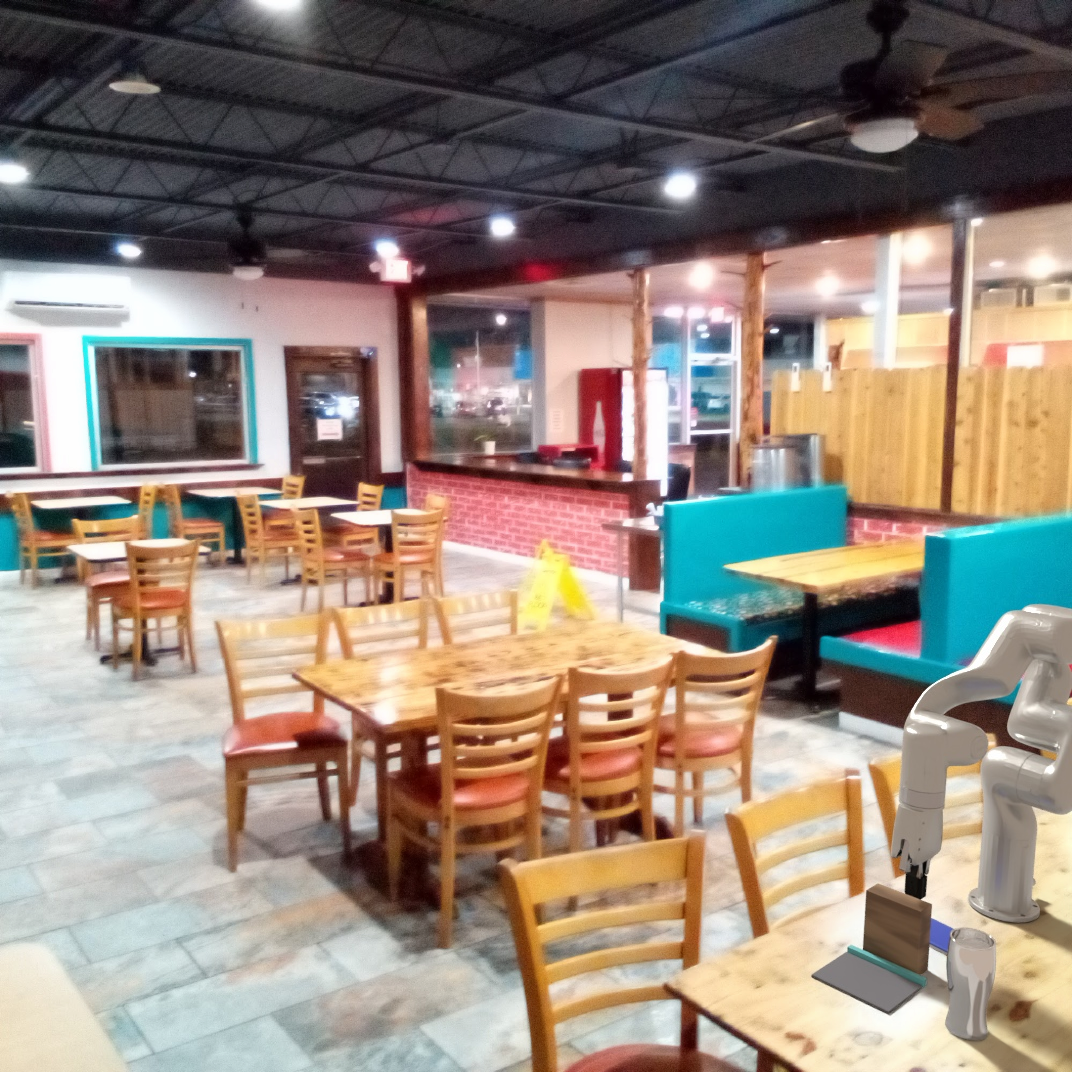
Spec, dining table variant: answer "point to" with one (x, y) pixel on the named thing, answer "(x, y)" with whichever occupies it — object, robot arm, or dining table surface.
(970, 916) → the dining table surface
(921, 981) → the stop strip
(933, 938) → the hard drive
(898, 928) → the slab
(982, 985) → the beer glass
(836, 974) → the mat
